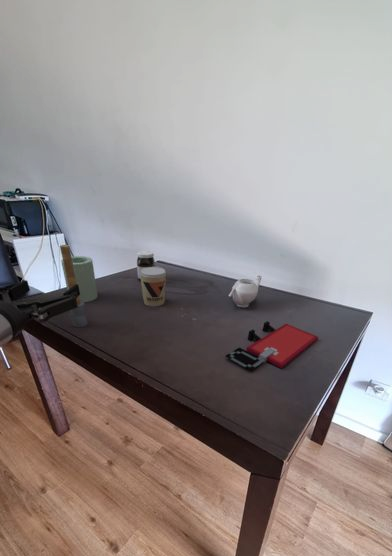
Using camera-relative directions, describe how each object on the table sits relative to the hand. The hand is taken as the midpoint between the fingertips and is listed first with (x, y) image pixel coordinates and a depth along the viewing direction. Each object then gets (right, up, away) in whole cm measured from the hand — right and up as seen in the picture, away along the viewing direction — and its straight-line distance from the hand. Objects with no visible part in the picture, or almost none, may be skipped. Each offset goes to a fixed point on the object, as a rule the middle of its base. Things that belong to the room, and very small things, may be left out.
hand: (52, 287), depth 73 cm
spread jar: (+17, +15, +54) cm, 58 cm away
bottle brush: (0, -8, +16) cm, 18 cm away
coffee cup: (+21, +2, +33) cm, 40 cm away
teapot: (+55, +1, +35) cm, 65 cm away
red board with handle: (+59, -16, +10) cm, 62 cm away
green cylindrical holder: (-6, +4, +34) cm, 35 cm away
